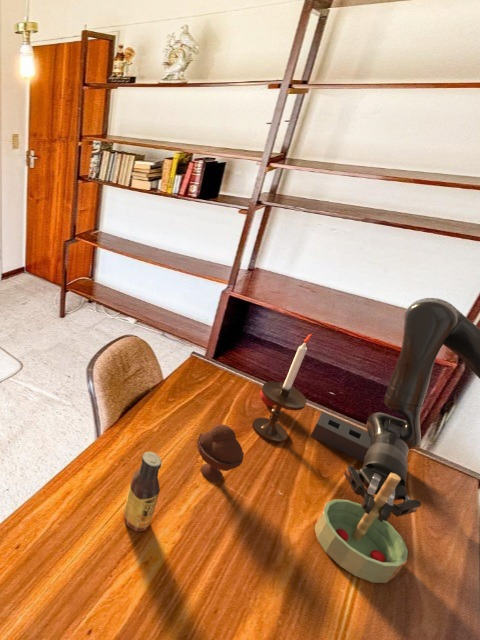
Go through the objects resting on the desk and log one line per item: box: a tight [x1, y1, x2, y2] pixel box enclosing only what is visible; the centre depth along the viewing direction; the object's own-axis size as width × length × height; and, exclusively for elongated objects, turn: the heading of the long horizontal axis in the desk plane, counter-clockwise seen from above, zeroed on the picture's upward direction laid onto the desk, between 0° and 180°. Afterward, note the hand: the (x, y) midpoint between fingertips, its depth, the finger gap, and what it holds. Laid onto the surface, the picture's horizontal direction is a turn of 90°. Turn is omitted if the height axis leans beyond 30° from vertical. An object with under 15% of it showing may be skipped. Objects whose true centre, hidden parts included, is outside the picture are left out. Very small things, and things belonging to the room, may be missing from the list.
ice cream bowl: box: [196, 424, 245, 483], centre depth 102 cm, size 11×11×15 cm
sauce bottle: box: [123, 451, 163, 533], centre depth 88 cm, size 6×6×20 cm
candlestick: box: [251, 333, 313, 444], centre depth 111 cm, size 11×11×35 cm
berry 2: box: [370, 550, 385, 562], centre depth 85 cm, size 2×2×2 cm
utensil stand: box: [310, 411, 371, 464], centre depth 114 cm, size 17×7×5 cm, turn 44°
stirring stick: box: [352, 473, 401, 541], centre depth 85 cm, size 2×2×20 cm
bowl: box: [314, 498, 409, 584], centre depth 87 cm, size 14×14×6 cm
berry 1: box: [336, 529, 349, 541], centre depth 89 cm, size 2×2×2 cm
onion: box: [259, 389, 276, 407], centre depth 128 cm, size 6×6×8 cm
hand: (375, 514), depth 83 cm, fingers closed on stirring stick, 1 cm apart
